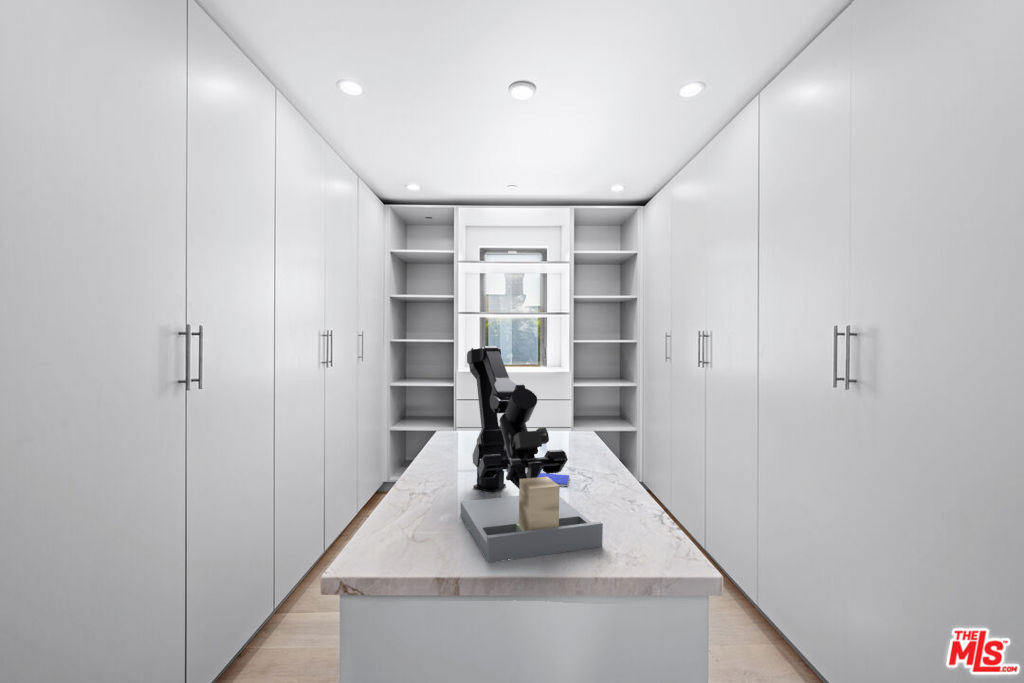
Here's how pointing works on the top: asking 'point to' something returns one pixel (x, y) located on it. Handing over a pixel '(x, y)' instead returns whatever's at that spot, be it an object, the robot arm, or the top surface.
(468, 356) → the robot arm
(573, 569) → the top surface
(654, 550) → the top surface
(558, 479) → the hard drive
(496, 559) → the board
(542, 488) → the maple block
